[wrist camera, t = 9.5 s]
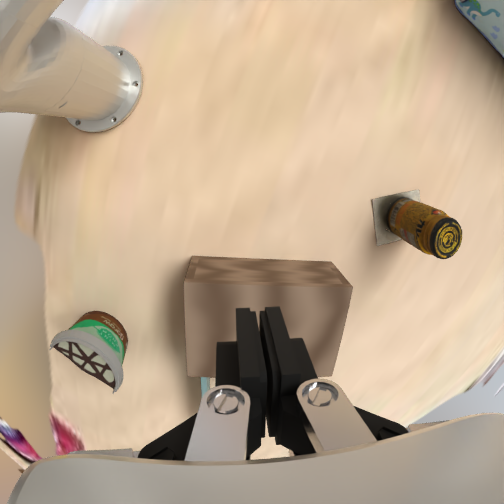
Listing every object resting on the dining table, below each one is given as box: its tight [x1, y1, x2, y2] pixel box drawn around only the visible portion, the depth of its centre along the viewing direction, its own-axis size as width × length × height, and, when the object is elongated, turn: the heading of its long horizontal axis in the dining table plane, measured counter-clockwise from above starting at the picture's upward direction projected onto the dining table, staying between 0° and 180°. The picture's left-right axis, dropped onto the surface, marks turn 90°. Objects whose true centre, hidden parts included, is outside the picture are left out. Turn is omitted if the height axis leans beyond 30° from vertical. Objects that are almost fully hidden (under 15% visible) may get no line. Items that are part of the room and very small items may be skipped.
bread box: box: [184, 256, 353, 378], centre depth 43 cm, size 20×14×9 cm
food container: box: [50, 311, 128, 394], centre depth 42 cm, size 12×6×10 cm, turn 50°
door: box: [201, 377, 210, 397], centre depth 47 cm, size 16×2×7 cm, turn 177°
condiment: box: [372, 190, 462, 259], centre depth 38 cm, size 7×8×12 cm
